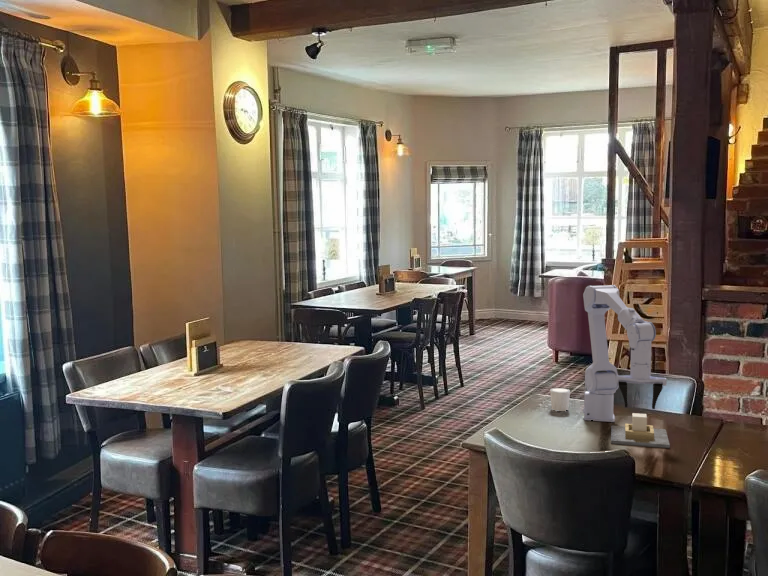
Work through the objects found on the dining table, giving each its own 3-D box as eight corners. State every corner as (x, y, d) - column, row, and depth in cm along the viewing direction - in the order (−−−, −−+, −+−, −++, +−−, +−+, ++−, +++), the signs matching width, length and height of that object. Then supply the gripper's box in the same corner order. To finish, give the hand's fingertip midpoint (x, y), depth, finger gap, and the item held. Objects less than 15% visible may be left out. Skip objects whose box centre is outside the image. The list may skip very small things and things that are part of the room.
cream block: (632, 436, 215) (632, 416, 215) (631, 432, 219) (632, 413, 219) (646, 437, 214) (646, 417, 214) (645, 433, 218) (646, 414, 217)
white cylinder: (571, 408, 252) (572, 388, 251) (568, 413, 246) (568, 392, 245) (552, 406, 255) (552, 386, 254) (547, 411, 248) (548, 391, 248)
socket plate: (611, 443, 212) (611, 433, 211) (611, 428, 227) (611, 419, 227) (669, 448, 207) (669, 438, 207) (665, 432, 222) (665, 422, 222)
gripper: (615, 364, 213) (614, 409, 214) (667, 366, 209) (666, 412, 210) (615, 359, 220) (614, 403, 221) (666, 361, 215) (664, 406, 217)
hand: (639, 407), depth 216 cm, fingers open, 7 cm apart
